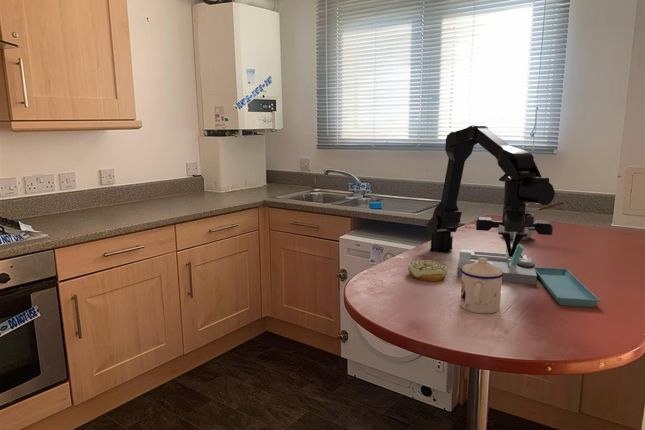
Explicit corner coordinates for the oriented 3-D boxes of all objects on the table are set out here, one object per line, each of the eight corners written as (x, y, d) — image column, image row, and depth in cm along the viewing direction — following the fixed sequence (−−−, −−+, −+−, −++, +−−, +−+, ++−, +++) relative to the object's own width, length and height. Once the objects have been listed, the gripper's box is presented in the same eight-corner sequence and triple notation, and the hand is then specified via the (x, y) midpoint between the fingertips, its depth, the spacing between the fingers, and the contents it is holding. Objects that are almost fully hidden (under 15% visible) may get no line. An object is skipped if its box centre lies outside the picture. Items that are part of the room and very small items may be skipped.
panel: (457, 277, 131) (458, 261, 130) (460, 259, 148) (461, 245, 147) (537, 285, 125) (538, 268, 124) (531, 266, 142) (532, 251, 141)
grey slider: (458, 265, 133) (459, 251, 132) (459, 262, 135) (460, 249, 135) (470, 266, 132) (470, 252, 131) (470, 263, 134) (471, 250, 134)
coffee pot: (496, 238, 176) (499, 198, 173) (504, 232, 185) (506, 194, 182) (560, 246, 164) (564, 203, 161) (564, 240, 174) (568, 199, 171)
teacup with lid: (462, 297, 116) (465, 251, 113) (502, 303, 112) (506, 255, 110) (453, 315, 105) (456, 264, 103) (497, 322, 101) (500, 269, 99)
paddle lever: (508, 270, 127) (519, 247, 126) (507, 264, 132) (518, 243, 130) (513, 272, 127) (524, 249, 125) (512, 266, 132) (523, 245, 130)
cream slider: (506, 259, 139) (507, 246, 138) (505, 256, 142) (506, 243, 141) (517, 260, 138) (518, 247, 137) (516, 257, 141) (517, 244, 140)
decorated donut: (413, 283, 127) (413, 269, 126) (403, 271, 137) (404, 258, 137) (451, 282, 127) (452, 268, 127) (439, 270, 138) (439, 257, 137)
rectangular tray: (531, 273, 136) (532, 265, 135) (566, 275, 134) (567, 267, 134) (556, 307, 111) (557, 297, 110) (599, 310, 109) (600, 300, 108)
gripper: (477, 202, 122) (473, 261, 124) (557, 206, 116) (552, 268, 119) (478, 196, 132) (474, 251, 135) (552, 199, 126) (547, 256, 129)
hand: (510, 256), depth 129 cm, fingers closed
